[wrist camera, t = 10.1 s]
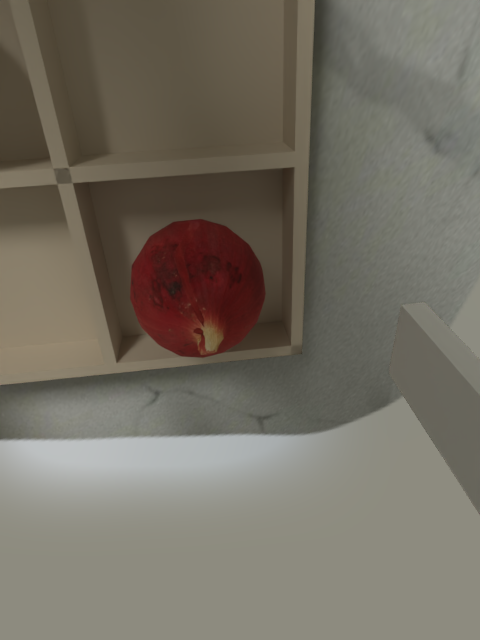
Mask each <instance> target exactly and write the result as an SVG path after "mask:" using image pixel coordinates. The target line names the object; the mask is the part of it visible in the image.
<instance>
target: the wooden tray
mask: <svg viewBox="0 0 480 640" xmlns="http://www.w3.org/2000/svg"><path fill="white" fill-rule="evenodd" d="M314 11H315V0H0V385H6V384H16V383H25V382H35V381H45V380H54V379H64V378H74V377H83V376H93V375H103V374H112V373H122V372H132V371H141V370H151V369H161V368H171V367H180V366H190V365H200V364H209V363H219V362H229V361H238V360H248V359H258V358H267V357H277V356H287V355H296V354H302V340H303V313H304V286H305V258H306V231H307V203H308V176H309V148H310V121H311V94H312V66H313V39H314ZM195 219H203V220H207V221H210V222H214V223H217V224H221V225H224V226H227V227H228V228H229V229H230V230H232V231H233V232H234V233H235V234H237V235H238V236H239V237H241V238H242V239H243V240H244V241H245V242H247V243H248V244H249V245H250V247H251V249H252V250H253V252H254V253H255V255H256V257H257V258H258V260H259V262H260V263H261V267H262V270H263V276H264V284H265V291H266V295H265V301H264V304H263V307H262V310H261V312H260V315H259V318H258V321H257V323H256V324H255V325H254V327H253V328H252V329H251V330H250V332H249V333H248V334H247V335H246V337H245V338H244V339H243V340H242V341H241V342H240V343H239V344H237V345H235V346H234V347H232V348H230V349H228V350H227V351H225V352H223V353H220V354H216V355H212V356H208V357H204V358H198V357H181V356H179V355H177V354H175V353H173V352H171V351H169V350H167V349H165V348H163V347H161V346H160V345H158V344H157V343H156V342H155V341H154V340H153V339H152V338H151V337H150V336H149V335H148V334H147V333H146V332H145V331H144V330H143V329H142V328H141V326H140V324H139V322H138V319H137V316H136V314H135V311H134V308H133V305H132V303H131V300H130V285H131V268H132V264H133V263H134V261H135V259H136V258H137V256H138V254H139V253H140V251H141V250H142V248H143V246H144V245H145V243H146V241H147V240H148V238H149V237H150V236H151V235H153V234H154V233H156V232H158V231H159V230H161V229H162V228H164V227H166V226H167V225H169V224H171V223H172V222H176V221H185V220H195Z"/></svg>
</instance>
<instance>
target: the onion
mask: <svg viewBox="0 0 480 640" xmlns="http://www.w3.org/2000/svg"><path fill="white" fill-rule="evenodd" d="M265 295H266V291H265V284H264V276H263V270H262V267H261V263H260V262H259V260H258V258H257V257H256V255H255V253H254V252H253V250H252V249H251V247H250V245H249V244H248V243H247V242H245V241H244V240H243V239H242V238H241V237H239V236H238V235H237V234H235V233H234V232H233V231H232V230H230V229H229V228H228V227H227V226H224V225H221V224H217V223H214V222H210V221H207V220H203V219H195V220H185V221H176V222H172V223H171V224H169V225H167V226H166V227H164V228H162V229H161V230H159V231H158V232H156V233H154V234H153V235H151V236H150V237H149V238H148V240H147V241H146V243H145V245H144V246H143V248H142V250H141V251H140V253H139V254H138V256H137V258H136V259H135V261H134V263H133V264H132V268H131V285H130V300H131V303H132V305H133V308H134V311H135V314H136V316H137V319H138V322H139V324H140V326H141V328H142V329H143V330H144V331H145V332H146V333H147V334H148V335H149V336H150V337H151V338H152V339H153V340H154V341H155V342H156V343H157V344H158V345H160V346H161V347H163V348H165V349H167V350H169V351H171V352H173V353H175V354H177V355H179V356H181V357H198V358H204V357H208V356H212V355H216V354H220V353H223V352H225V351H227V350H228V349H230V348H232V347H234V346H235V345H237V344H239V343H240V342H241V341H242V340H243V339H244V338H245V337H246V335H247V334H248V333H249V332H250V330H251V329H252V328H253V327H254V325H255V324H256V323H257V321H258V318H259V315H260V312H261V310H262V307H263V304H264V301H265Z"/></svg>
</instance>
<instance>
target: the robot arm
mask: <svg viewBox="0 0 480 640" xmlns="http://www.w3.org/2000/svg"><path fill="white" fill-rule="evenodd" d="M389 375H390V376H391V378H392V379H393V381H394V382H395V384H396V385H397V387H398V389H399V390H400V392H401V393H402V395H403V396H404V398H405V399H406V401H407V402H408V404H409V405H410V407H411V409H412V410H413V412H414V413H415V415H416V416H417V418H418V420H419V421H420V423H421V424H422V426H423V427H424V429H425V430H426V432H427V434H428V435H429V437H430V438H431V440H432V441H433V443H434V444H435V446H436V448H437V449H438V451H439V452H440V454H441V455H442V457H443V458H444V460H445V462H446V463H447V465H448V466H449V467H450V469H451V471H452V472H453V474H454V476H455V477H456V479H457V480H458V482H459V483H460V485H461V486H462V488H463V490H464V491H465V493H466V494H467V496H468V497H469V499H470V500H471V502H472V503H473V505H474V507H475V508H476V510H477V511H478V513H479V514H480V359H479V358H478V357H477V356H476V355H475V354H474V353H473V352H472V351H471V350H470V349H469V348H468V347H467V346H466V345H465V343H464V342H463V341H462V340H461V339H460V338H459V337H458V336H457V335H456V334H455V333H454V332H453V331H452V330H451V329H450V328H449V327H448V326H447V325H446V324H445V323H444V322H443V321H442V320H441V319H440V318H439V316H438V315H437V314H436V313H435V312H434V311H433V310H432V309H431V308H430V307H429V306H428V305H427V304H426V303H425V302H421V303H411V304H401V308H400V313H399V319H398V324H397V330H396V335H395V341H394V346H393V351H392V357H391V362H390V368H389Z"/></svg>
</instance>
